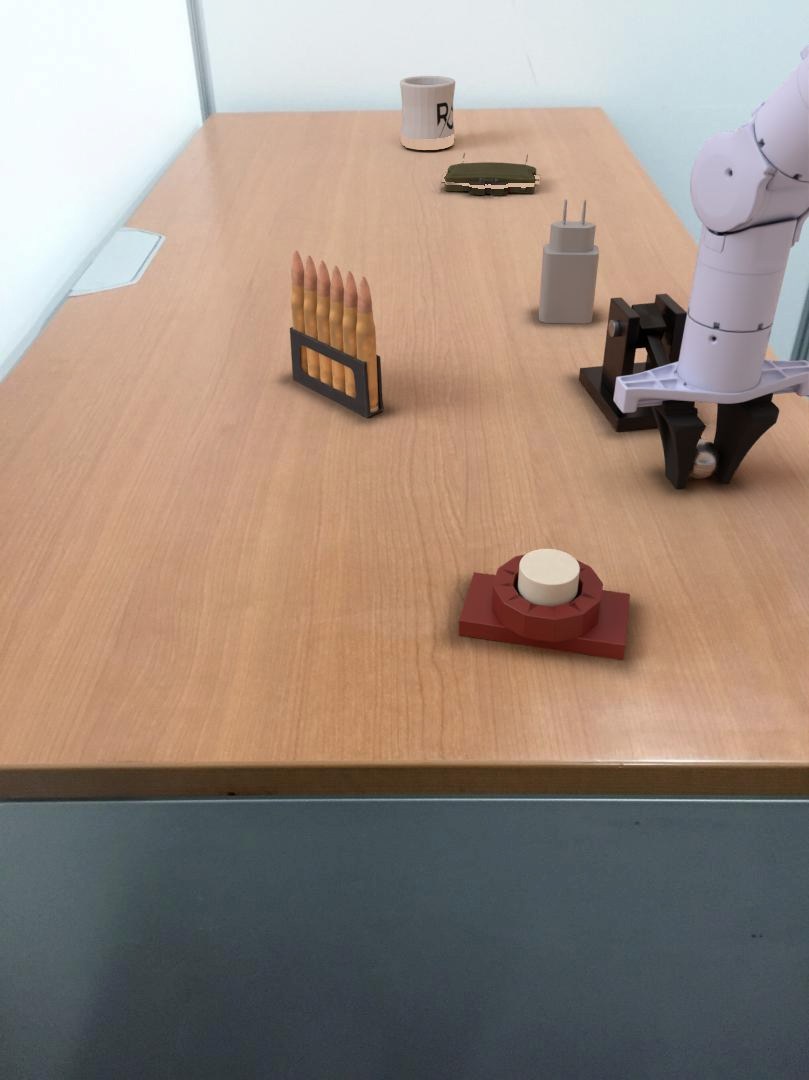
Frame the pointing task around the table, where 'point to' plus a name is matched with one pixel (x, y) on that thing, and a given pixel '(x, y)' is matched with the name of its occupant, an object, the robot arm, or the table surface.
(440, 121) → the mug
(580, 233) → the power adapter
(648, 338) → the lever
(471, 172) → the landmine
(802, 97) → the robot arm
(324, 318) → the ammunition clip
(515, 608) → the block
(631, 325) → the black pivot stand
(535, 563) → the button
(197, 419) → the table surface
